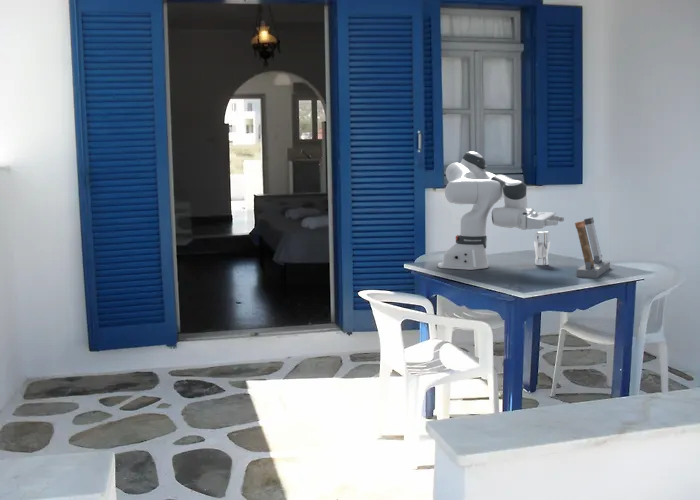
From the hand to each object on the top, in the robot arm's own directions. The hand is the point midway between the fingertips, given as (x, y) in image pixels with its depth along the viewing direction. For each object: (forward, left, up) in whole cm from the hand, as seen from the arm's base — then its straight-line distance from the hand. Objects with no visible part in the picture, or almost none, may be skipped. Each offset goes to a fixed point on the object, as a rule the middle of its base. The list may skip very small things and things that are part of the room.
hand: (560, 221), depth 312 cm
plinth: (+14, +6, -22) cm, 27 cm away
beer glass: (-7, +24, -22) cm, 34 cm away
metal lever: (+17, +15, -19) cm, 29 cm away
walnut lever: (+12, -3, -19) cm, 23 cm away
